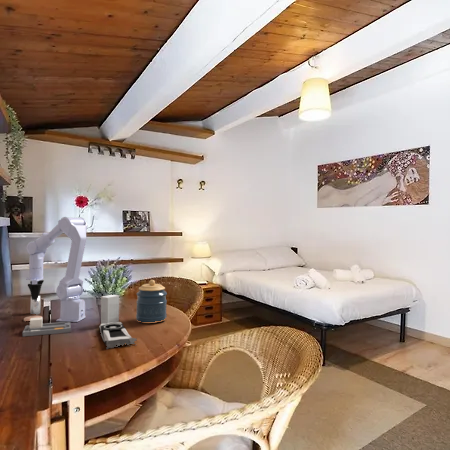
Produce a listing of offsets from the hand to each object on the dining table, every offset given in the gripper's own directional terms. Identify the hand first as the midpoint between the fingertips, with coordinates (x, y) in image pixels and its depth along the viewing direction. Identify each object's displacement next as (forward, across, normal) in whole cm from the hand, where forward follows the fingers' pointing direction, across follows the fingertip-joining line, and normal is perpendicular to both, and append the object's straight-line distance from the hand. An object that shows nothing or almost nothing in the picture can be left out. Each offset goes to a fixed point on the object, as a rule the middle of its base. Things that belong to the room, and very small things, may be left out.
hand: (35, 297), depth 165 cm
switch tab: (+5, +31, +3) cm, 32 cm away
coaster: (+7, +11, 0) cm, 13 cm away
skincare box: (+7, +30, +30) cm, 43 cm away
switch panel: (+7, +31, +7) cm, 33 cm away
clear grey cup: (+7, 0, 0) cm, 7 cm away
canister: (+7, +29, +47) cm, 56 cm away
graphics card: (+8, +48, +31) cm, 57 cm away
